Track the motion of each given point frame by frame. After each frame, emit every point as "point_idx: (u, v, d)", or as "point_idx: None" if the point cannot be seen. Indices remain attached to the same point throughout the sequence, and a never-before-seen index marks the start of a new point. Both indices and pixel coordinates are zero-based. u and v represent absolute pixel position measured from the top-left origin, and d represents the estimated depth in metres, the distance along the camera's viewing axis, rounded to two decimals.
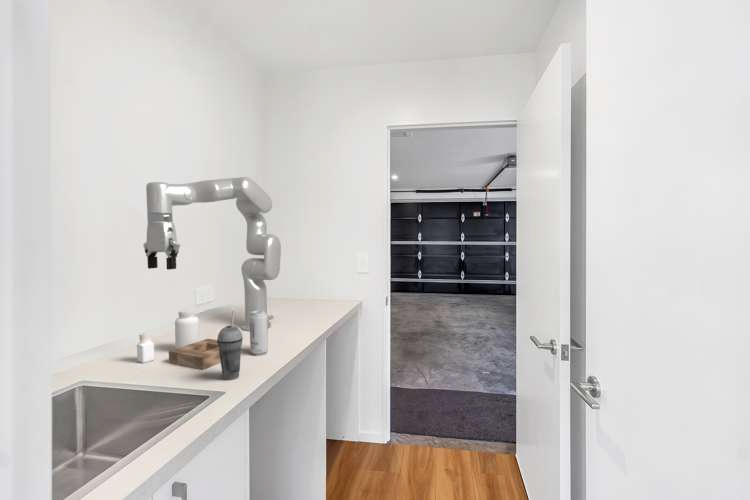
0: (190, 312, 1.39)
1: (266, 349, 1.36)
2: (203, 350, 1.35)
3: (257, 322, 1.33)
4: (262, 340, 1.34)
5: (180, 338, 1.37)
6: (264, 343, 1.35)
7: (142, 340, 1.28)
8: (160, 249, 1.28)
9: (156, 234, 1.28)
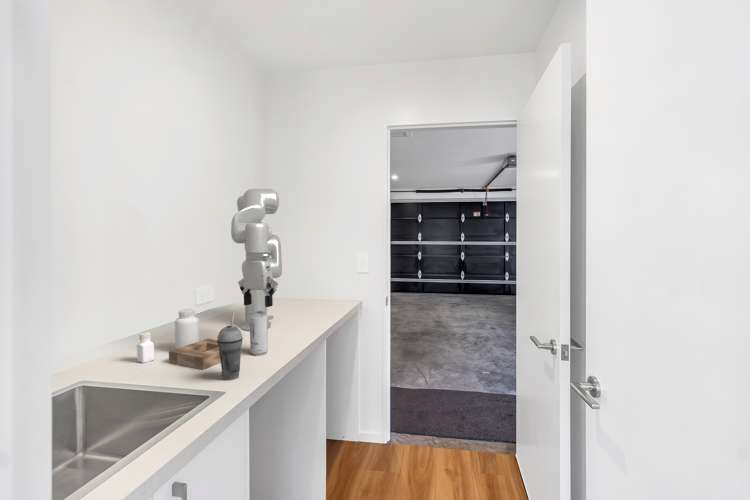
0: (190, 312, 1.39)
1: (266, 349, 1.36)
2: (203, 350, 1.35)
3: (257, 322, 1.33)
4: (262, 340, 1.34)
5: (180, 338, 1.37)
6: (264, 343, 1.35)
7: (142, 340, 1.28)
8: (259, 287, 1.32)
9: (255, 273, 1.32)
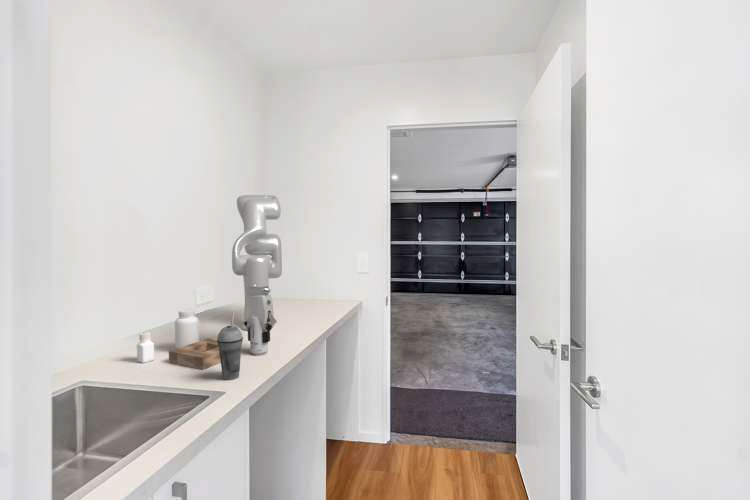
0: (190, 312, 1.39)
1: (266, 349, 1.36)
2: (203, 350, 1.35)
3: (257, 322, 1.33)
4: (262, 340, 1.34)
5: (180, 338, 1.37)
6: (264, 343, 1.35)
7: (142, 340, 1.28)
8: (259, 321, 1.33)
9: (256, 307, 1.33)
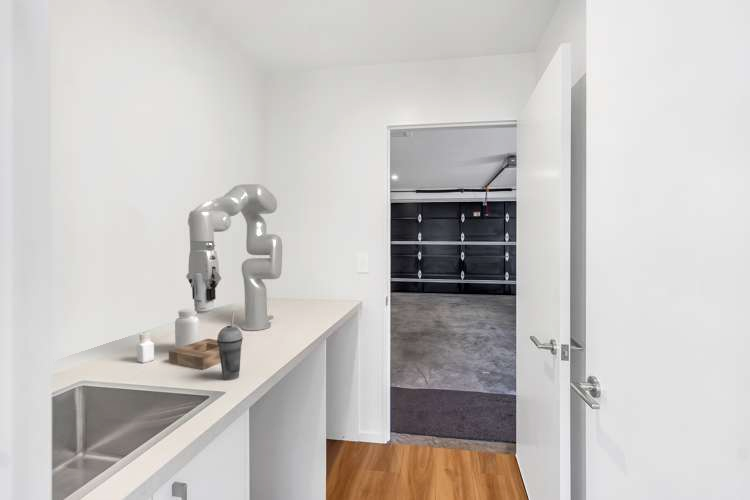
0: (190, 312, 1.39)
1: (211, 307, 1.30)
2: (203, 350, 1.35)
3: (201, 278, 1.27)
4: None
5: (180, 338, 1.37)
6: None
7: (142, 340, 1.28)
8: (203, 278, 1.27)
9: (199, 263, 1.27)
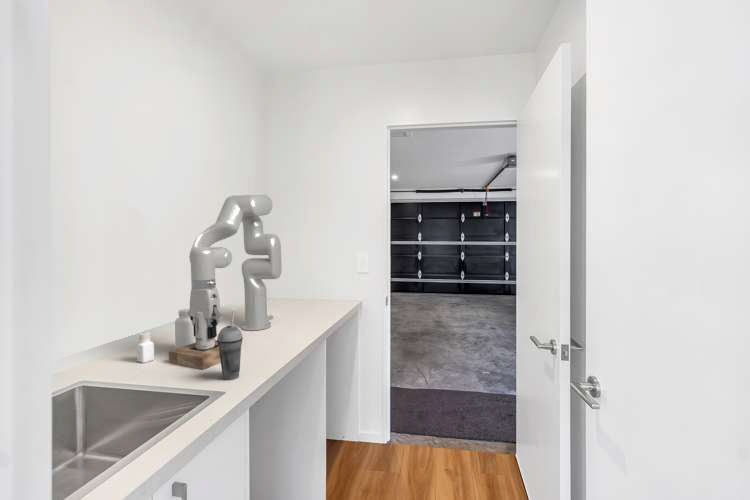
0: None
1: (212, 345, 1.30)
2: None
3: (202, 317, 1.28)
4: None
5: (180, 338, 1.37)
6: None
7: (142, 340, 1.28)
8: (204, 316, 1.28)
9: (200, 301, 1.28)
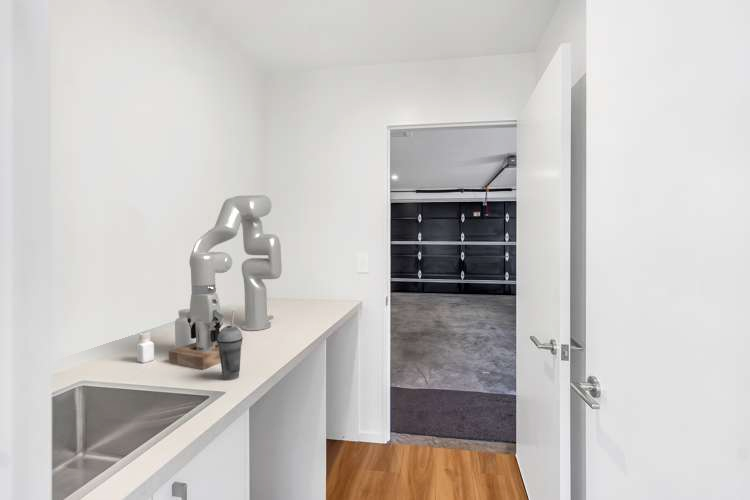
0: None
1: None
2: None
3: (203, 326, 1.28)
4: (208, 344, 1.29)
5: (180, 338, 1.37)
6: (211, 347, 1.30)
7: (142, 340, 1.28)
8: (204, 321, 1.28)
9: (200, 306, 1.28)
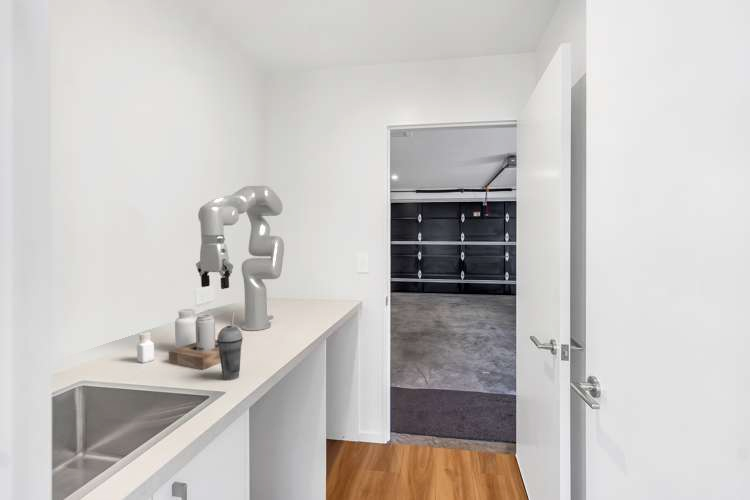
0: (190, 312, 1.39)
1: None
2: None
3: (203, 326, 1.28)
4: (209, 344, 1.29)
5: (180, 338, 1.37)
6: (211, 348, 1.30)
7: (142, 340, 1.28)
8: (214, 270, 1.34)
9: (210, 255, 1.34)
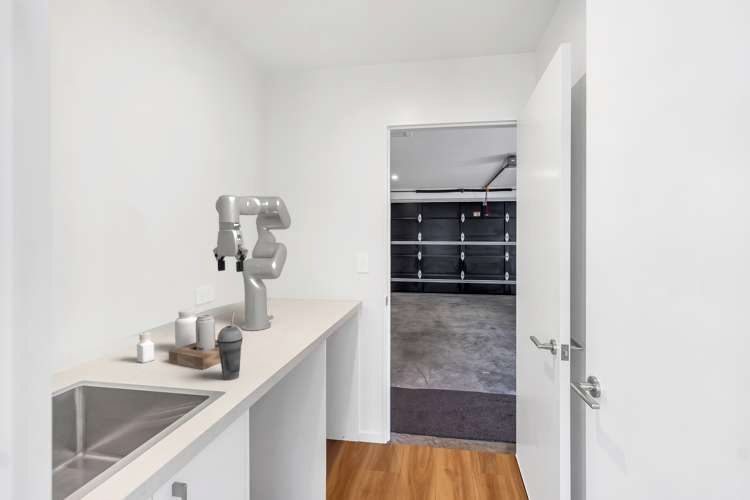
0: (190, 312, 1.39)
1: None
2: None
3: (203, 326, 1.28)
4: (209, 345, 1.29)
5: (180, 338, 1.37)
6: (211, 348, 1.30)
7: (142, 340, 1.28)
8: (230, 254, 1.46)
9: (227, 241, 1.45)
